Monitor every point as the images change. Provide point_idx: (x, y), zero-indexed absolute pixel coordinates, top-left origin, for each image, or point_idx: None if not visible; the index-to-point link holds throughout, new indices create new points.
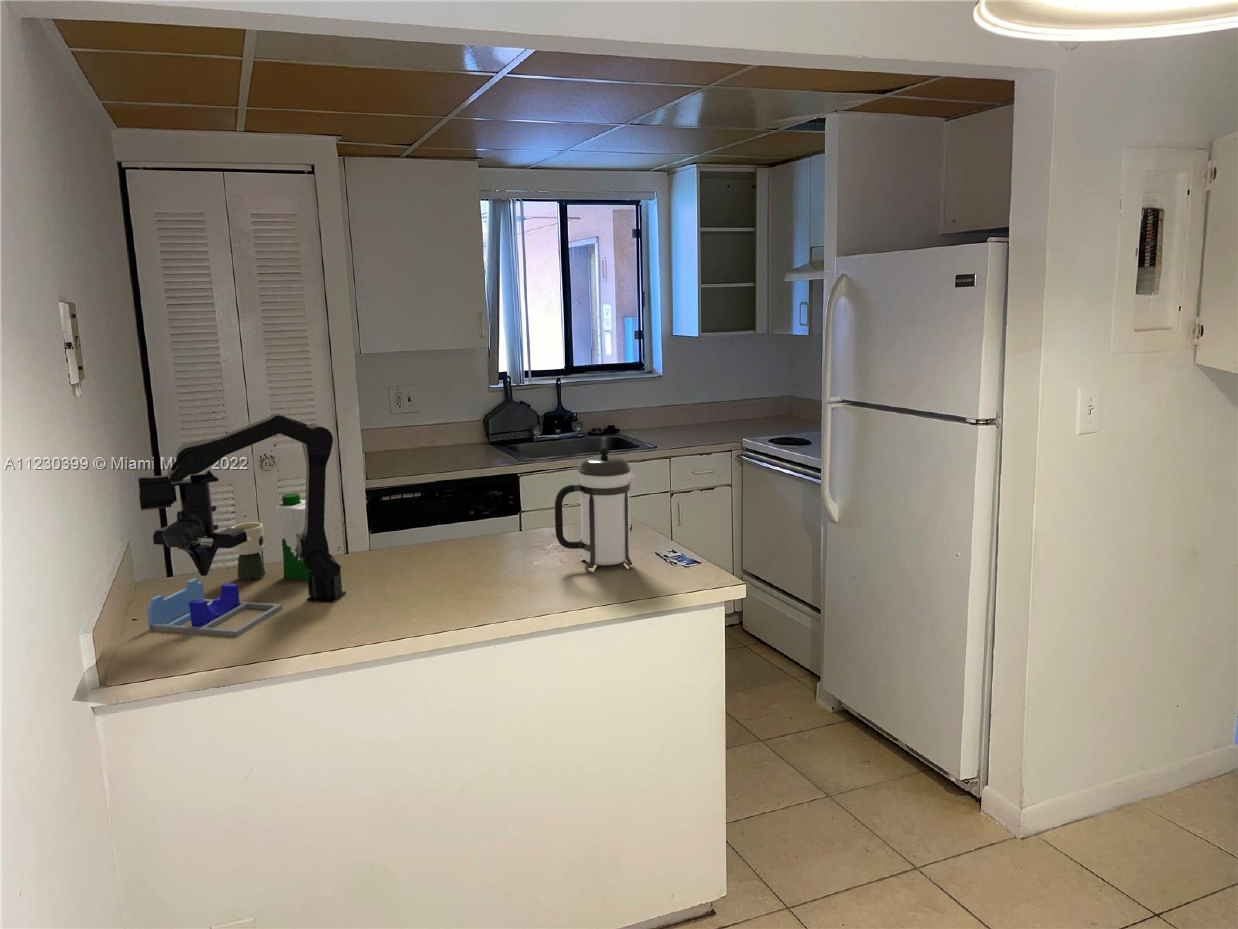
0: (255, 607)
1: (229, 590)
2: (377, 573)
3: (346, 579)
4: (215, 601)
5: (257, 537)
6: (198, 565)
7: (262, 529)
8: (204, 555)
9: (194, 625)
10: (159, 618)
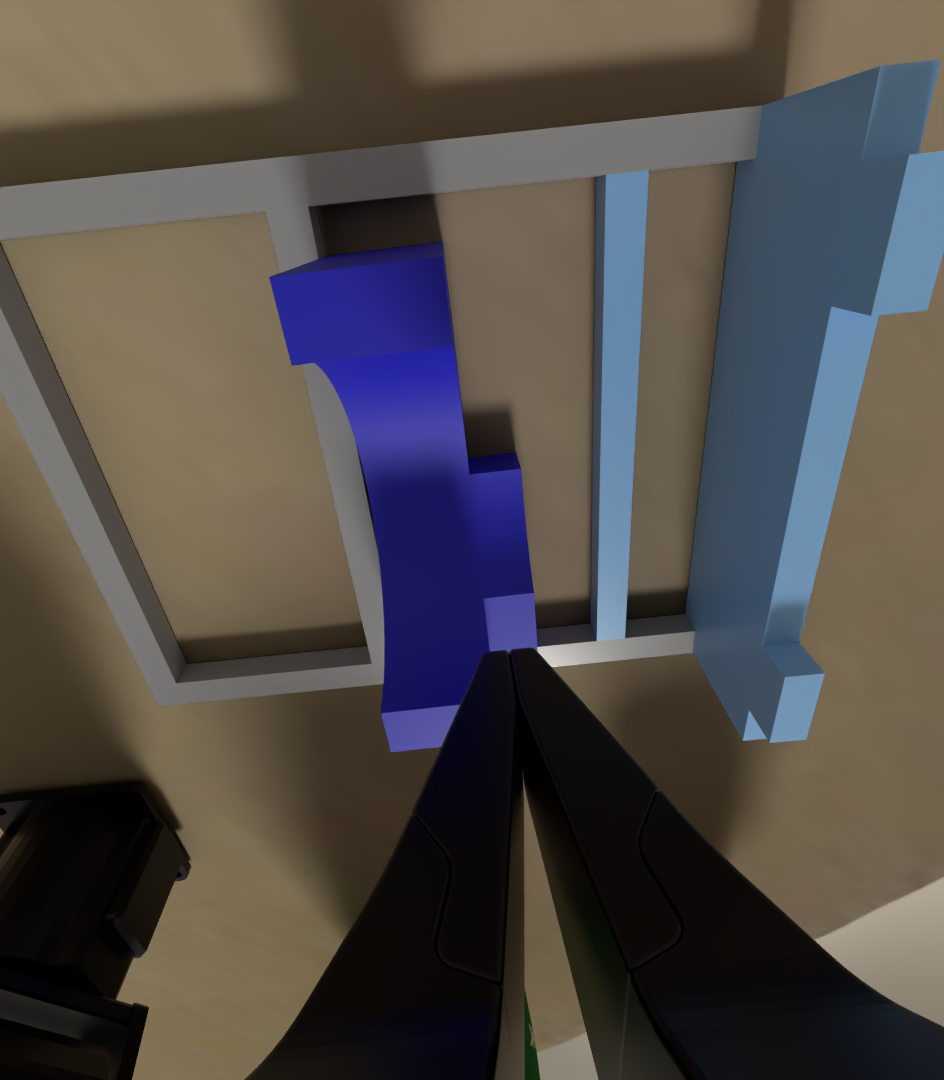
0: (319, 655)
1: (419, 680)
2: (175, 1021)
3: (234, 967)
4: (508, 586)
5: None
6: (555, 750)
7: None
8: (336, 990)
9: (415, 246)
10: (765, 205)
